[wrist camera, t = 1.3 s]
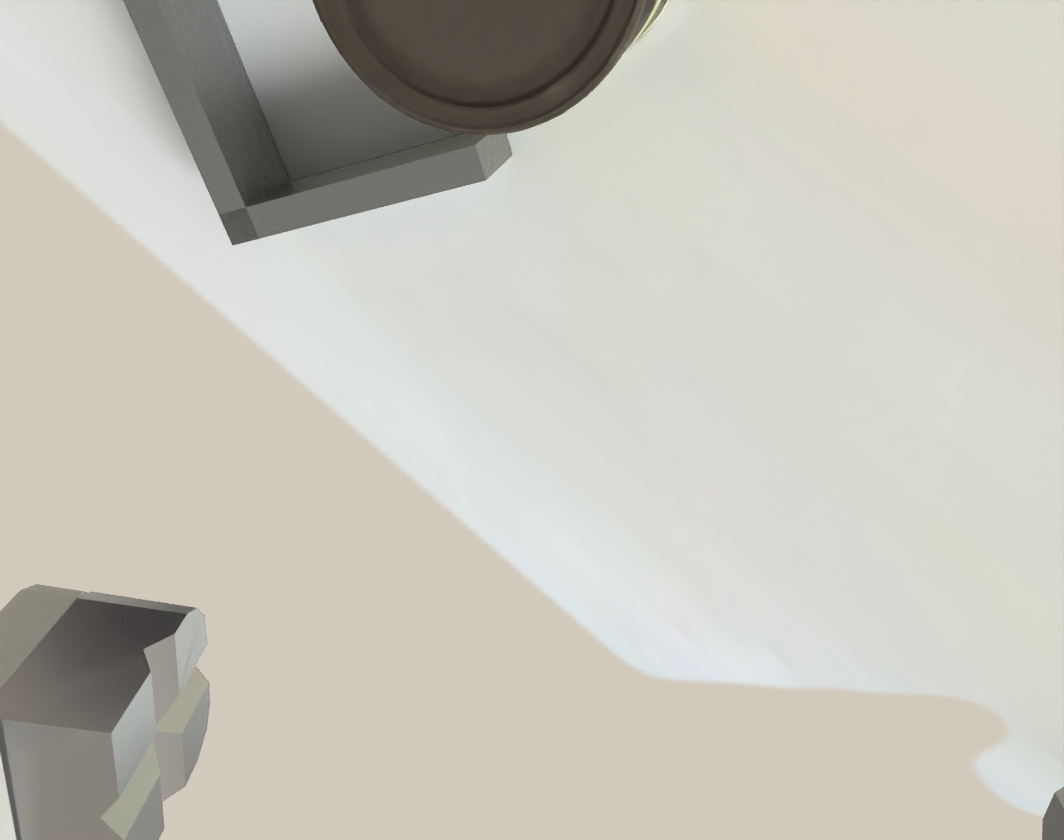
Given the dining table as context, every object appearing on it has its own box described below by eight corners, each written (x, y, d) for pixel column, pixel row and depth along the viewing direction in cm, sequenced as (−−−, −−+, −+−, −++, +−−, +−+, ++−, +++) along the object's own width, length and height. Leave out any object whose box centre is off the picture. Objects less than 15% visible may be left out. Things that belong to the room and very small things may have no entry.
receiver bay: (391, -249, 36) (345, -266, 32) (512, 154, 42) (486, 180, 39) (116, -127, 40) (47, -129, 37) (264, 220, 47) (218, 248, 43)
